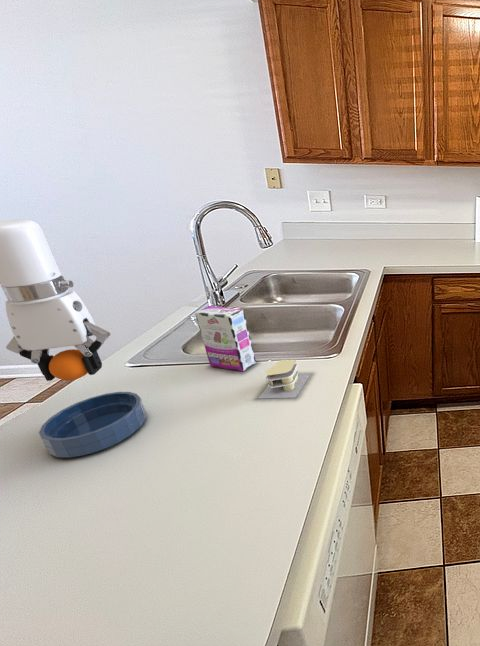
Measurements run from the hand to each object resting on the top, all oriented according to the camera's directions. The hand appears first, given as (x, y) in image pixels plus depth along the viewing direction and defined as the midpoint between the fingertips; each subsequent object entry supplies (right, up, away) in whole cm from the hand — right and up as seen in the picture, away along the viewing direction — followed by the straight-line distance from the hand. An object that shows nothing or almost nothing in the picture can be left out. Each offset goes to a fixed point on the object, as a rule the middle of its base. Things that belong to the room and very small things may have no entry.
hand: (75, 373), depth 78 cm
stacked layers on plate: (+31, -8, +21) cm, 39 cm away
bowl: (0, -14, +5) cm, 15 cm away
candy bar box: (+12, -4, +31) cm, 33 cm away
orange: (0, +2, -1) cm, 2 cm away
